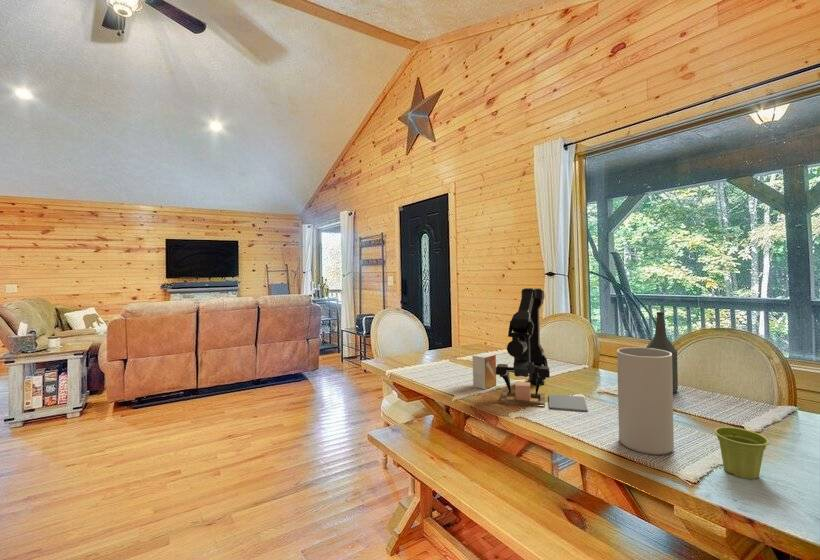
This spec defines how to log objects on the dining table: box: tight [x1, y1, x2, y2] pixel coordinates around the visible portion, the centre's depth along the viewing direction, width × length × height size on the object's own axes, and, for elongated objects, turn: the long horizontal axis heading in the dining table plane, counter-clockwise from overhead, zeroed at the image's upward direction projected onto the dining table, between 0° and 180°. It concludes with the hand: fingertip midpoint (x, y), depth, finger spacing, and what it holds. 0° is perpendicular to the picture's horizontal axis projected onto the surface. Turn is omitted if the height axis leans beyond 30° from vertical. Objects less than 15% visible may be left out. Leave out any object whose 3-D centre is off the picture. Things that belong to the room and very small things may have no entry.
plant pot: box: [714, 426, 770, 480], centre depth 88 cm, size 9×9×9 cm
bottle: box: [645, 311, 679, 393], centre depth 148 cm, size 10×10×30 cm
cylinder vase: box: [616, 347, 675, 455], centre depth 103 cm, size 12×12×25 cm
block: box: [514, 381, 532, 401], centre depth 142 cm, size 5×5×6 cm
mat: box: [548, 394, 589, 413], centre depth 137 cm, size 14×12×1 cm
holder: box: [500, 390, 546, 407], centre depth 142 cm, size 11×15×1 cm
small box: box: [472, 352, 497, 390], centre depth 160 cm, size 8×6×13 cm
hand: (523, 393), depth 142 cm, fingers open, 9 cm apart
